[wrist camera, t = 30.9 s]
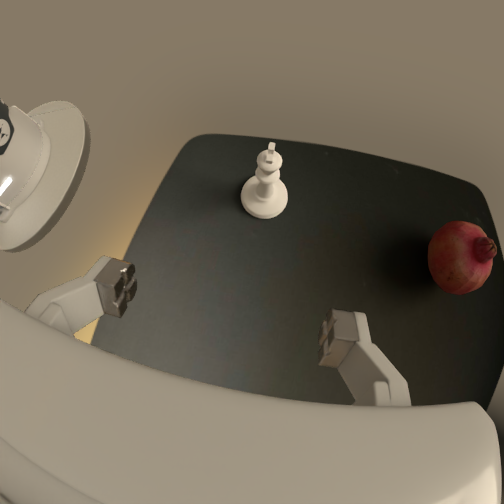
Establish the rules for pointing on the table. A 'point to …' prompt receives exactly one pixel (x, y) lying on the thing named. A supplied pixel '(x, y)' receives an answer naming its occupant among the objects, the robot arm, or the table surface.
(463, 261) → the fruit
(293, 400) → the robot arm
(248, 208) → the chess piece
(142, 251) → the table surface
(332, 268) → the table surface
